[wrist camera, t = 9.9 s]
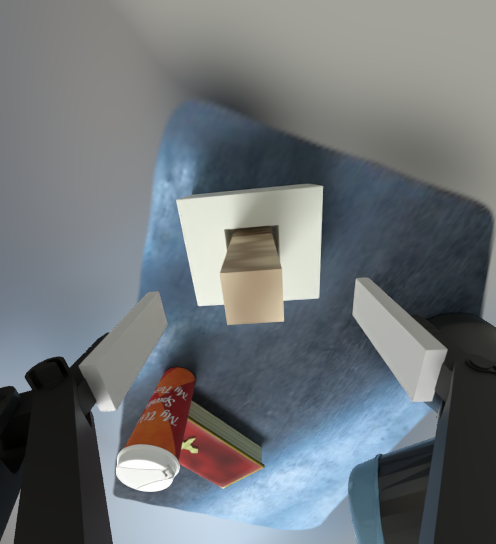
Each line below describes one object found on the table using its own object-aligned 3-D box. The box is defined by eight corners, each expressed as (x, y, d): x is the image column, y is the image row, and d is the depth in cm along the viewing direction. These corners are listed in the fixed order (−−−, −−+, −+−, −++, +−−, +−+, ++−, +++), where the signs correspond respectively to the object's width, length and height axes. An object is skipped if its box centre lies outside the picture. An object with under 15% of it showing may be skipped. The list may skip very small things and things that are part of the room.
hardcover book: (224, 467, 51) (221, 491, 47) (147, 420, 45) (137, 443, 41) (263, 444, 47) (264, 469, 44) (185, 391, 42) (178, 414, 38)
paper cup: (192, 358, 38) (161, 453, 25) (207, 391, 41) (185, 490, 28) (149, 366, 39) (98, 461, 26) (166, 397, 42) (127, 496, 29)
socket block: (308, 183, 27) (323, 186, 21) (307, 276, 32) (319, 298, 26) (191, 194, 28) (176, 199, 22) (207, 283, 32) (198, 306, 27)
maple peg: (269, 223, 27) (282, 268, 14) (270, 255, 29) (284, 321, 16) (235, 226, 28) (218, 273, 15) (239, 258, 29) (226, 325, 16)
